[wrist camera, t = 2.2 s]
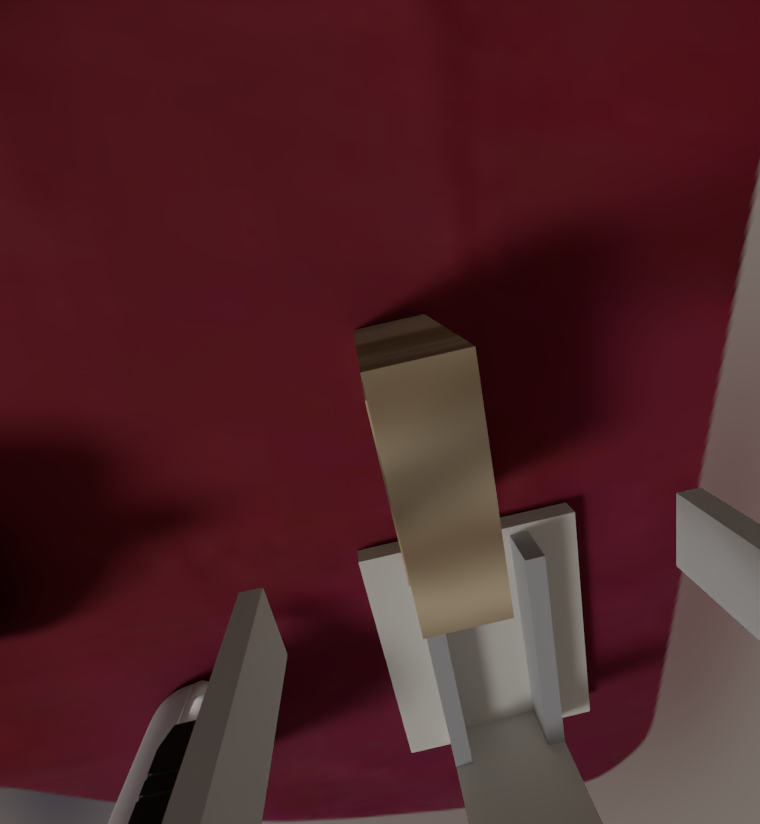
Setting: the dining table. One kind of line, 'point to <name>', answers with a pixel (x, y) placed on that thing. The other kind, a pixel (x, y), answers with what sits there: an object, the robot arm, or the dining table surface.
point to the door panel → (436, 470)
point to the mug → (157, 744)
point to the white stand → (497, 676)
